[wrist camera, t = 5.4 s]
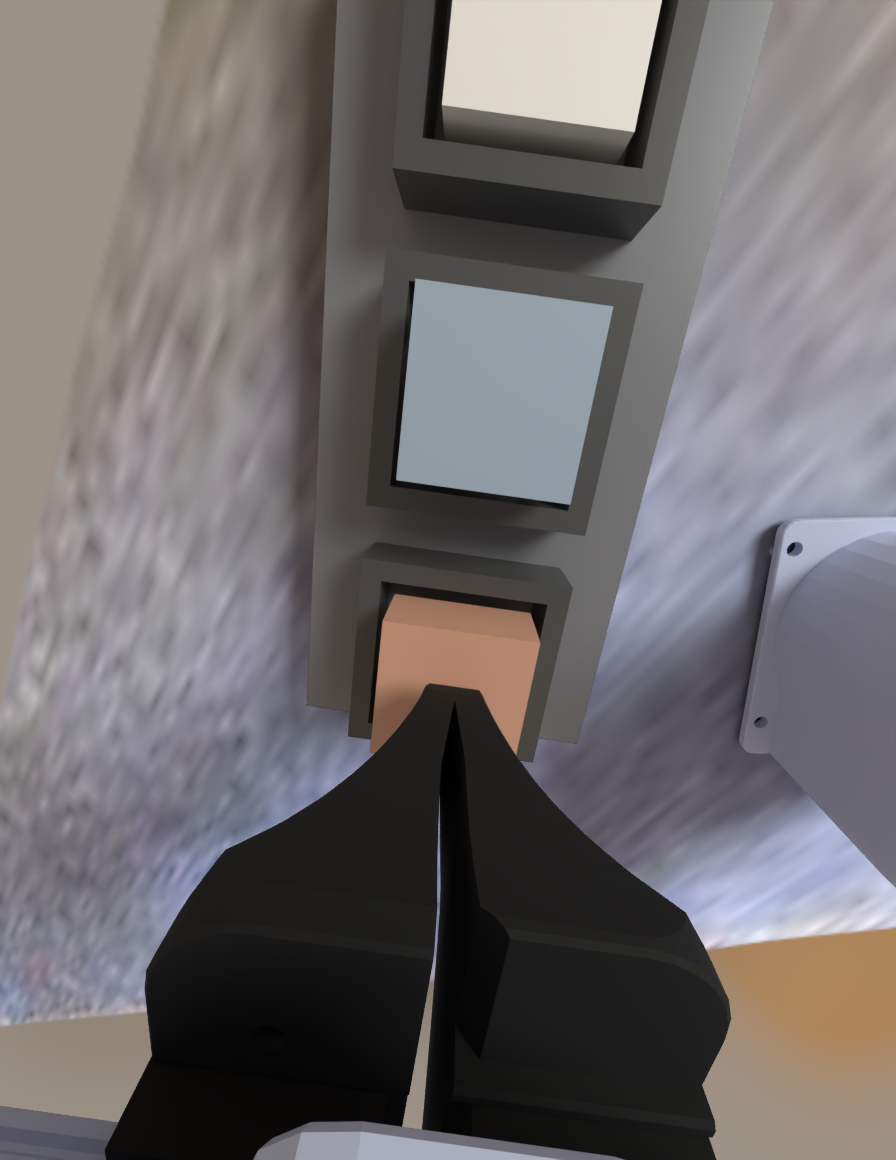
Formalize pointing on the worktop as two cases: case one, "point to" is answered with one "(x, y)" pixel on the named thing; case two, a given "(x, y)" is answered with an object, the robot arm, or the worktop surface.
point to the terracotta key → (453, 660)
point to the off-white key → (548, 75)
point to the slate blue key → (499, 390)
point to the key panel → (514, 264)
